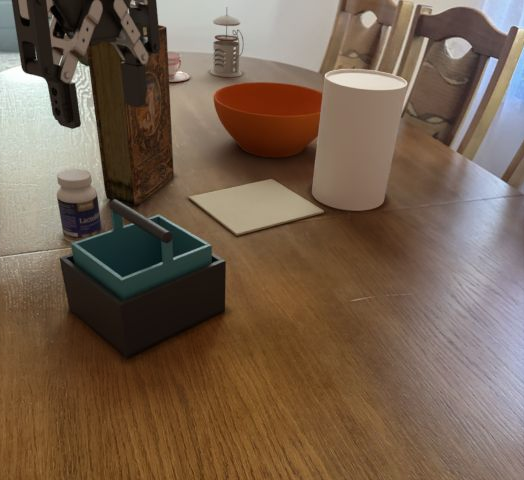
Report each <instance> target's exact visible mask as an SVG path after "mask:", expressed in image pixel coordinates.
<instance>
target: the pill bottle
mask: <svg viewBox="0 0 524 480" xmlns="http://www.w3.org/2000/svg"><path fill="white" fill-rule="evenodd" d="M56 179H57V184H58V185H59V188H58V189H57V192H56V199H57V205H58V211H59V217H60V223H61V229H62V234H63V238H64V239H65V240H66V241H67V242H69V243H70V244H71V243H74V242H77V241H80V240H83V239H86V238H89V237H92V236H95V235H98V234H101V233H103V228H102V222H101V221H102V220H101V213H100V206H99V197H98V191H97V190H96V188H95V187H94V186H93V185H92V182H93V179H92V174H91V172H90V171H88V170H86V169H82V168H67V169H63V170H60V171H59V172H58V173H57V174H56Z"/></svg>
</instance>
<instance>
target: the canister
mask: <svg viewBox="0 0 524 480" xmlns="http://www.w3.org/2000/svg"><path fill="white" fill-rule="evenodd" d="M322 88H323V89H322V93H323V96H322V105H321V114H320V123H319V132H318V136H317V141H316V151H315V157H314V159H315V160H314V168H313V177H312V185H311V195H312V197H313V198H314V199H315V200H316V201H318V202H319V203H321V204H323V205H325V206H327V207H331V208H333V209H337V210H343V211H355V212H356V211H357V212H359V211H369V210H373V209H376V208H378V207H380V206H382V205H383V204H384V201H385V198H386V194H387V189H388V188H387V187H388V183H389V179H390V173H391V168H392V164H393V157H394V153H395V148H396V143H397V138H398V133H399V129H400V123H401V118H402V114H403V109H404V103H405V99H406V93H407V88H408V81H407V80H406V79H405V78H403V77H401V76H399V75H396V74H392V73H389V72H385V71H379V70H373V69H364V68H342V69H334V70H330V71H327V72H326V73H325V74H324V80H323V87H322Z"/></svg>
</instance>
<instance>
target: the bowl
mask: <svg viewBox="0 0 524 480" xmlns="http://www.w3.org/2000/svg"><path fill="white" fill-rule="evenodd" d="M322 96H323V91H320V90H317V89H314V88H311V87H307V86H303V85H302V86H301V85H297V84H291V83H283V82H266V81H258V82H257V81H256V82H254V81H253V82H241V83H234V84H230V85H226V86H224V87H221V88H219V89H218V90H216V91H215V92H214V94H213V105H214V109H215V112H216V114H217V118H218V119H219V121H220V123H221V125H222V126H223V128H224V129H225V131H227V133H228V134H229V136H230V137H231V138H232V139H233V140H234V142H236V143H237V145H238V146H239V148H240V149H241V150H242V151H245V152H246V153H248V154H251V155H255V156H260V157H264V158H286V157H291V156H292V157H293V156H295V155H298V154H300V153H301V152H302V151H303V150H304V149H305V148H306V147H307V146H308V145H310V144H311V143H312V142H313V141H314V140H315V139H316V138H318V132H319V123H320V114H321V105H322Z"/></svg>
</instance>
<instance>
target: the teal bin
mask: <svg viewBox="0 0 524 480" xmlns="http://www.w3.org/2000/svg"><path fill="white" fill-rule="evenodd" d="M108 205H109V209H110V216H111V217H110V218H111V224H112V229H110V230H106V231H104V232H102V233H101V234H98V235H95V236H92V237H89V238H86V239H83V240H80V241H77V242H74V243H71V242H70V248H71V252H72V253H73V259H74V264H75V266H77V267H78V268H79V269H81V270H82V271H83V272H85V273H86V274H87V275H88V276H90V277H91V278H92V279H94V280H95V281H96V282H98V283H99V284H100V285H101V286H103V287H104V288H105V289H107V290H108V291H109V292H111V293H112V294H113V295H114V296H116V297H117V298H118V299H120V300H121V301H123V300H125V299H127V298H130V297H132V296H135V295H137V294H139V293H142V292H144V291H147V290H149V289H151V288H154V287H156V286H159V285H161V284H163V283H166V282H168V281H171V280H173V279H175V278H178V277H180V276H183V275H185V274H187V273H190V272H192V271H195V270H197V269H199V268H202V267H204V266H207V265H209V264H212V253H213V246H212V245H213V244H210V243H209V242H207V241H206V240H204V239H203V238H200V237H199V236H196V234H194V233H192V232H190V231H188V230H187V229H185V228H183V227H182V226H180V225H178V224H176V222H173V221H171V220H170V219H168V218H166V217H164V216H162V215H161V214H156V215H153V216H149V217H146V216H145V215H143V214H141V213H140V212H138V211H136V210H135V209H133V208H132V207H130V206H128V205H126V204H125V203H123V202H122V201H119V199H112V200H111V201H110V202H109V204H108ZM123 219H125V220H127V221H128V222H130V223H129V224H126V225H124V221H123ZM72 253H71V254H72Z"/></svg>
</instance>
